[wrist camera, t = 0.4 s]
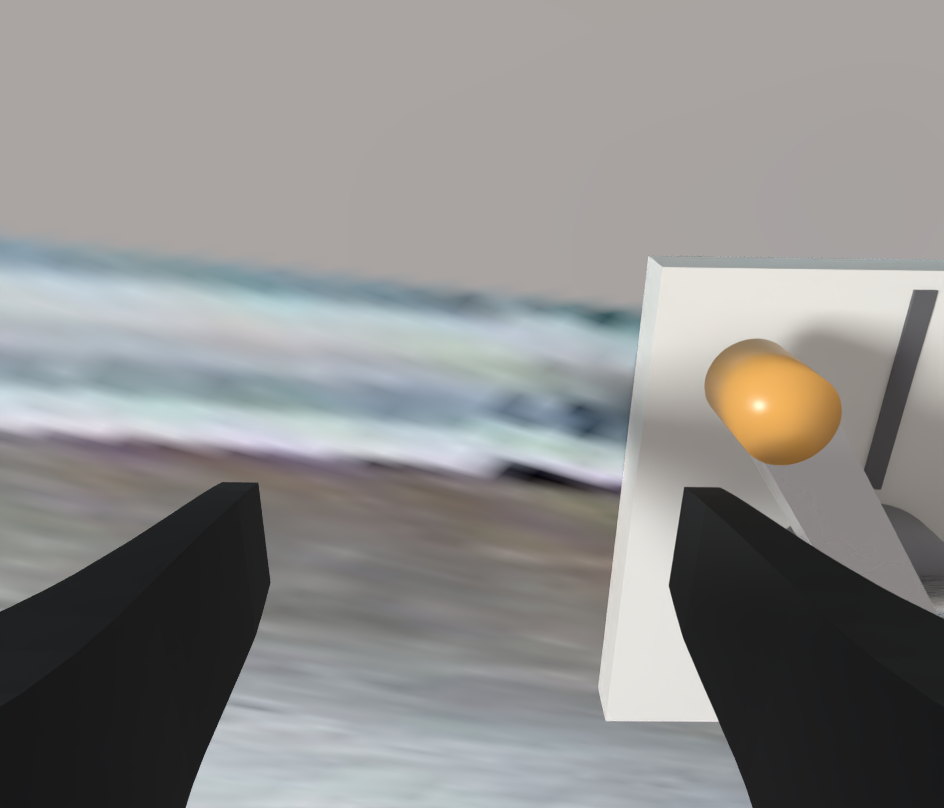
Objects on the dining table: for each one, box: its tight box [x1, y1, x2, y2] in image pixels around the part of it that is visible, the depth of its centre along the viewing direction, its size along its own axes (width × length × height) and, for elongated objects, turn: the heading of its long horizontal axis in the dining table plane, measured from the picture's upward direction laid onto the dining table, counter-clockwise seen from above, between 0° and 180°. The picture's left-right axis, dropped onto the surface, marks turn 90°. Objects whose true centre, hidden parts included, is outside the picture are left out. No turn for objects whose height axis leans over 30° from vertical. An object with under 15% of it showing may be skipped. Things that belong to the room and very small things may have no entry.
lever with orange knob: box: [704, 339, 944, 618], centre depth 16 cm, size 14×6×2 cm, turn 34°
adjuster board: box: [598, 256, 944, 722], centre depth 20 cm, size 16×14×4 cm
